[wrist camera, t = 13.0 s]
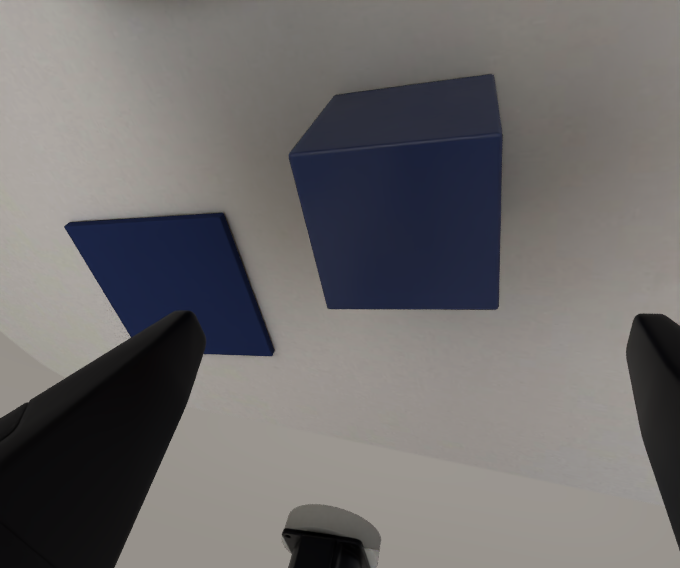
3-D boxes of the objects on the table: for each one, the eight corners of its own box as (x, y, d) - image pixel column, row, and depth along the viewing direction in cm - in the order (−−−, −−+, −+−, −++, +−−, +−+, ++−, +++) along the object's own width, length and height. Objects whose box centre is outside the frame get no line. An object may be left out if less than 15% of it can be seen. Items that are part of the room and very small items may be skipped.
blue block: (492, 220, 17) (498, 311, 13) (357, 226, 18) (326, 310, 14) (494, 72, 14) (502, 132, 10) (333, 94, 15) (286, 154, 11)
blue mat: (275, 351, 24) (272, 356, 23) (143, 346, 26) (139, 352, 26) (223, 212, 19) (219, 217, 19) (69, 221, 21) (63, 226, 21)
